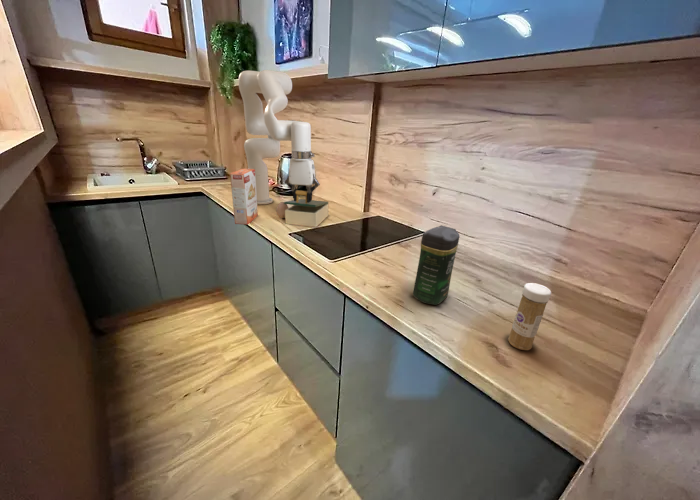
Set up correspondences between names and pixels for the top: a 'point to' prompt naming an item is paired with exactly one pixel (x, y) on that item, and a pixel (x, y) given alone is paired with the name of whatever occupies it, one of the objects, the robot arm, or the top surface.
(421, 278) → the coffee jar
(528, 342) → the sprinkles bottle
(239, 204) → the cracker box
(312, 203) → the book cover
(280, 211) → the egg
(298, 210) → the book box
